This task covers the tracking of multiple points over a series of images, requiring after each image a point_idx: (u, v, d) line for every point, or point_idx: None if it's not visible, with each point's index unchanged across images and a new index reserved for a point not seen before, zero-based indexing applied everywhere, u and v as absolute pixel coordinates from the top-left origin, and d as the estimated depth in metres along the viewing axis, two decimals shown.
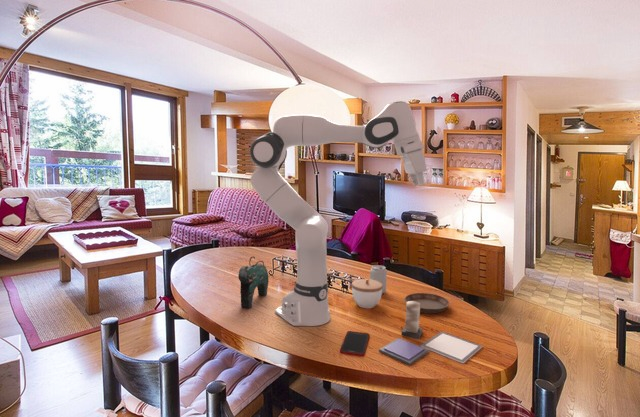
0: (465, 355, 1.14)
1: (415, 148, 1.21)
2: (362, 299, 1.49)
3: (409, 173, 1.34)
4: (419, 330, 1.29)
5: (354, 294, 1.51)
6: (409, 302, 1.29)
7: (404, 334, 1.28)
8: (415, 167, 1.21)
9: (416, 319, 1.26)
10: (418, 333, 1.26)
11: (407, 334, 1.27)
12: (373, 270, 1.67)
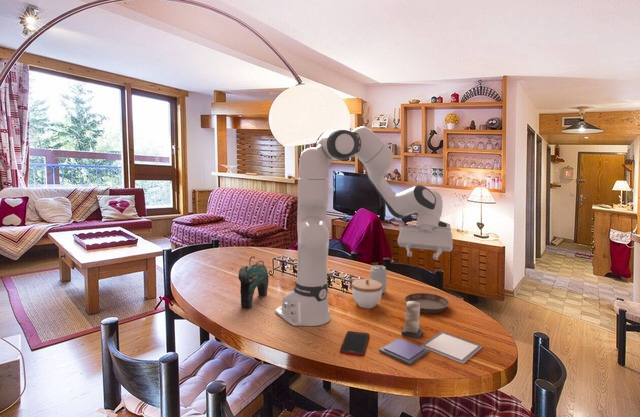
0: (465, 355, 1.14)
1: None
2: (362, 299, 1.49)
3: (415, 243, 1.40)
4: (419, 330, 1.29)
5: (354, 294, 1.51)
6: (409, 302, 1.29)
7: (404, 334, 1.28)
8: (452, 242, 1.36)
9: (416, 319, 1.26)
10: (418, 333, 1.26)
11: (407, 334, 1.27)
12: (373, 270, 1.67)
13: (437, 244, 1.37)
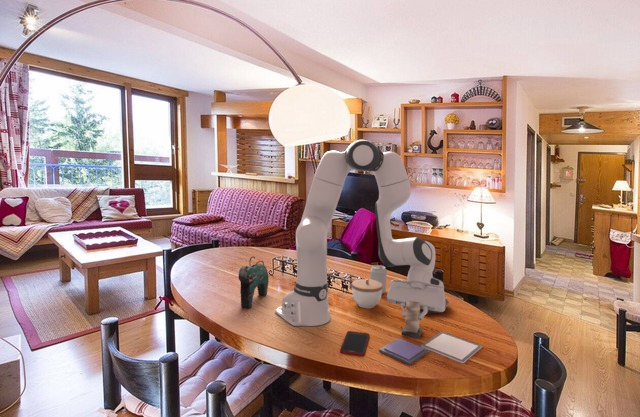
0: (465, 355, 1.14)
1: (443, 289, 1.32)
2: (362, 299, 1.49)
3: (405, 302, 1.31)
4: (419, 330, 1.29)
5: (354, 294, 1.51)
6: (409, 302, 1.29)
7: (404, 334, 1.28)
8: (444, 303, 1.27)
9: (416, 319, 1.26)
10: (418, 333, 1.26)
11: (407, 334, 1.27)
12: (373, 270, 1.67)
13: (429, 304, 1.28)
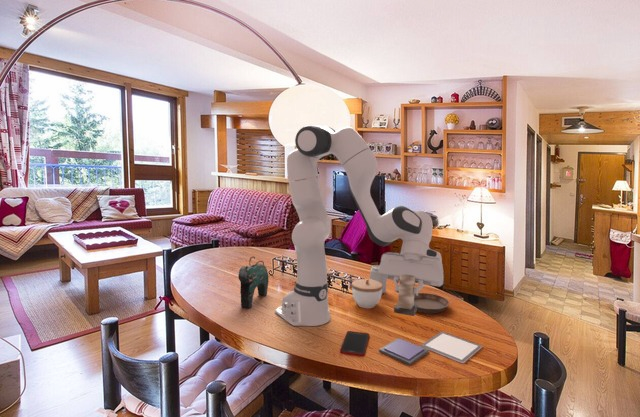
0: (465, 355, 1.14)
1: (441, 262, 1.18)
2: (362, 299, 1.49)
3: (398, 275, 1.17)
4: (414, 307, 1.15)
5: (354, 294, 1.51)
6: (403, 275, 1.15)
7: (397, 311, 1.14)
8: (442, 276, 1.13)
9: (410, 294, 1.12)
10: (412, 310, 1.12)
11: (400, 311, 1.13)
12: (373, 270, 1.67)
13: (425, 277, 1.14)
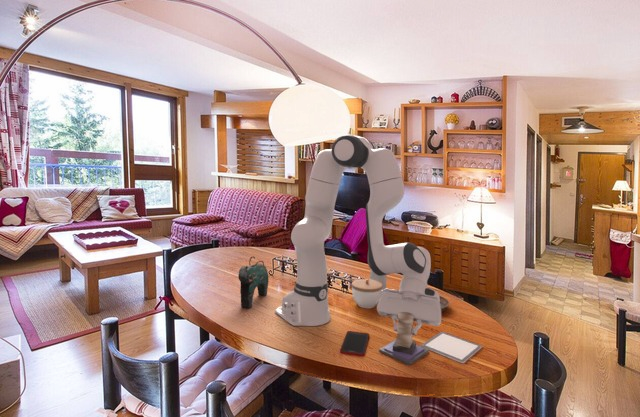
0: (465, 355, 1.14)
1: (439, 300, 1.19)
2: (362, 299, 1.49)
3: (397, 314, 1.18)
4: (412, 344, 1.16)
5: (354, 294, 1.51)
6: (401, 313, 1.16)
7: (395, 349, 1.15)
8: (440, 316, 1.14)
9: (409, 333, 1.13)
10: (410, 348, 1.14)
11: (399, 349, 1.14)
12: None
13: (423, 317, 1.15)
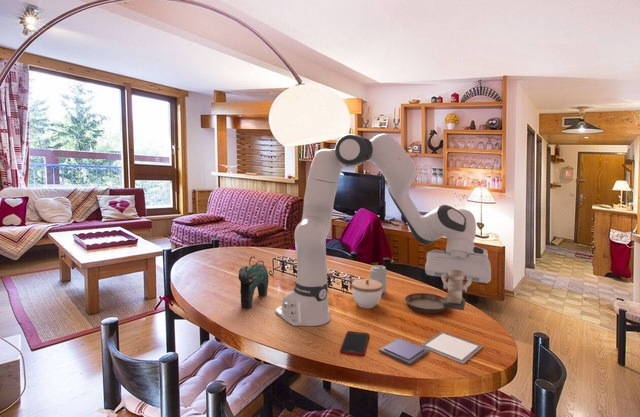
0: (465, 355, 1.14)
1: None
2: (362, 299, 1.49)
3: (446, 272, 1.20)
4: (462, 301, 1.18)
5: (354, 294, 1.51)
6: (451, 271, 1.18)
7: (446, 305, 1.17)
8: None
9: (460, 289, 1.15)
10: (462, 304, 1.15)
11: (450, 305, 1.16)
12: (373, 270, 1.67)
13: (473, 274, 1.17)
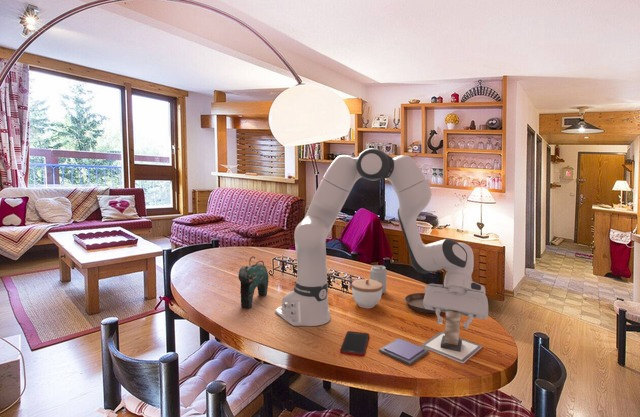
0: (465, 355, 1.14)
1: None
2: (362, 299, 1.49)
3: (444, 308, 1.22)
4: (459, 342, 1.20)
5: (354, 294, 1.51)
6: (448, 312, 1.20)
7: (444, 346, 1.18)
8: None
9: (457, 330, 1.17)
10: (459, 345, 1.17)
11: (447, 346, 1.18)
12: (373, 270, 1.67)
13: (470, 311, 1.18)
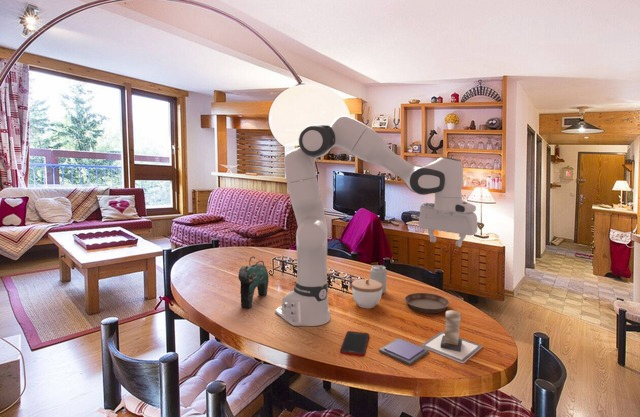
0: (465, 355, 1.14)
1: (473, 210, 1.22)
2: (362, 299, 1.49)
3: None
4: (459, 342, 1.20)
5: (354, 294, 1.51)
6: (448, 312, 1.20)
7: (444, 346, 1.18)
8: (473, 229, 1.21)
9: (457, 330, 1.17)
10: (459, 345, 1.17)
11: (447, 346, 1.18)
12: (373, 270, 1.67)
13: (457, 232, 1.24)
